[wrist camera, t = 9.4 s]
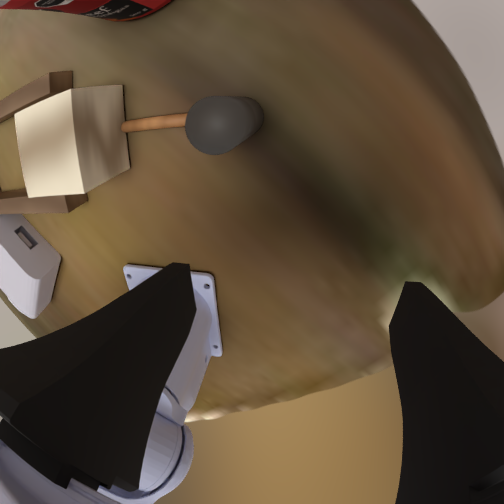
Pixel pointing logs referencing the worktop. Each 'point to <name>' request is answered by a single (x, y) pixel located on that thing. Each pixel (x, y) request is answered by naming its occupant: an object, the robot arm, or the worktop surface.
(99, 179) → the cream grey uneven dumbbell
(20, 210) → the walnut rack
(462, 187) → the worktop surface
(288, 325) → the worktop surface
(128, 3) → the canned food
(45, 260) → the charger
